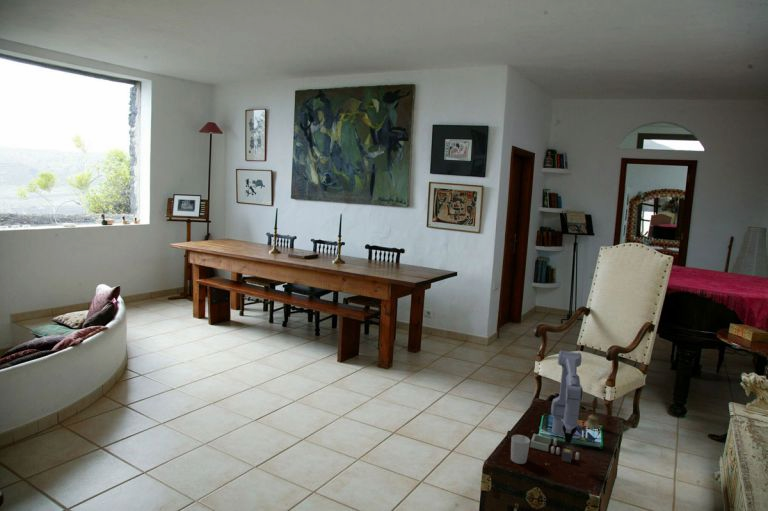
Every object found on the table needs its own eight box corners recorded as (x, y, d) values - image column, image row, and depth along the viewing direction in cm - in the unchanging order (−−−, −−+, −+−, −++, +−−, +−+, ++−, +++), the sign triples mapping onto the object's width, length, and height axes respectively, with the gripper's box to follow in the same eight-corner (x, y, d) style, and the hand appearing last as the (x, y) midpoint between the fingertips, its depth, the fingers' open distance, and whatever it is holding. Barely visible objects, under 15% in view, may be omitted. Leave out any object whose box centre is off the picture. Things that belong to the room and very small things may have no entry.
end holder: (533, 439, 252) (533, 433, 252) (550, 443, 249) (551, 437, 249) (530, 447, 245) (530, 441, 244) (547, 451, 241) (548, 445, 241)
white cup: (528, 466, 228) (530, 444, 227) (509, 463, 230) (511, 441, 228) (527, 457, 236) (529, 436, 234) (509, 454, 237) (511, 433, 236)
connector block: (562, 456, 238) (563, 447, 238) (571, 458, 237) (572, 449, 236) (561, 460, 235) (562, 451, 234) (570, 462, 233) (571, 453, 233)
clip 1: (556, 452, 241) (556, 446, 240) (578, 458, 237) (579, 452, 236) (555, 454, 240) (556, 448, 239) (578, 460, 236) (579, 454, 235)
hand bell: (600, 432, 265) (604, 402, 262) (583, 428, 268) (587, 398, 265) (600, 425, 272) (604, 396, 270) (583, 421, 275) (587, 392, 273)
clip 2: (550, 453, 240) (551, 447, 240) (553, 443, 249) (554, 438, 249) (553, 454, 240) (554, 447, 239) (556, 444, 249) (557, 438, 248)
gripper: (564, 404, 237) (560, 432, 239) (559, 416, 223) (556, 446, 225) (580, 408, 234) (577, 436, 236) (577, 420, 221) (573, 451, 223)
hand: (568, 441), depth 230 cm, fingers closed
